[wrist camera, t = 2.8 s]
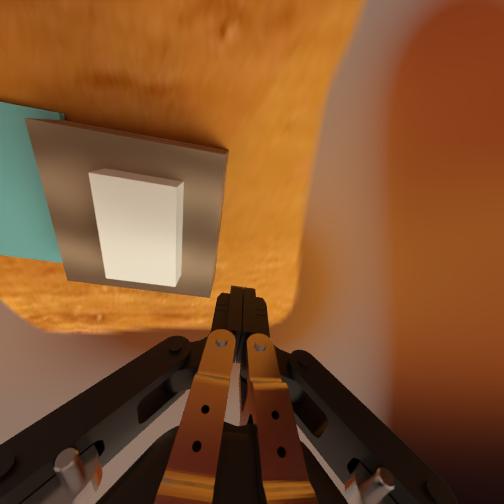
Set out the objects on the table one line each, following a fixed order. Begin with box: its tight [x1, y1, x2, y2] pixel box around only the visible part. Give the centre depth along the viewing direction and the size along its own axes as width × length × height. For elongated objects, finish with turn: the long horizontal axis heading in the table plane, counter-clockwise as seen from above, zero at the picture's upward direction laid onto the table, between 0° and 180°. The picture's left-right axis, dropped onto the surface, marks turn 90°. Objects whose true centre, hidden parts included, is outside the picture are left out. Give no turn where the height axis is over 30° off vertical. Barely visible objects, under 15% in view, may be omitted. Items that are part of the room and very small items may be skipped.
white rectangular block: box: [89, 168, 184, 287], centre depth 19 cm, size 9×6×2 cm, turn 170°
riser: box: [25, 118, 229, 298], centre depth 21 cm, size 14×14×4 cm
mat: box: [0, 101, 65, 263], centre depth 22 cm, size 15×12×1 cm
